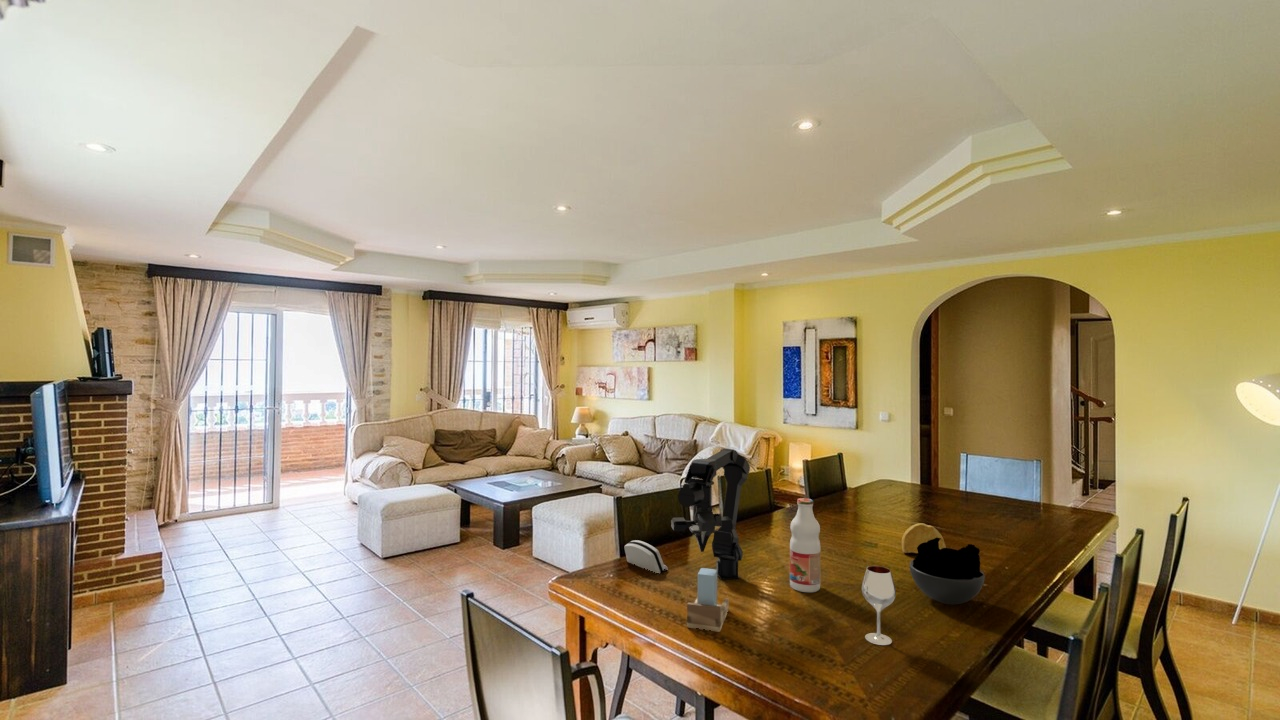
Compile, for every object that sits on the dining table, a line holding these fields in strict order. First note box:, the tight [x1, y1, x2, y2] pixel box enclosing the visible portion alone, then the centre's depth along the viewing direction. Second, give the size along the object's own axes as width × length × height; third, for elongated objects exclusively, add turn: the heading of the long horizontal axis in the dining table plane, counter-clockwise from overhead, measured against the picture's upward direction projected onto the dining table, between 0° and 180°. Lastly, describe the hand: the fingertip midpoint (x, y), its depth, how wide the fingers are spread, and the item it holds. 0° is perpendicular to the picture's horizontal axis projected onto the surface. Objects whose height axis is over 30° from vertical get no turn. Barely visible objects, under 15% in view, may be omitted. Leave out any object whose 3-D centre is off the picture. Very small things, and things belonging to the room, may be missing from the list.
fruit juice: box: [789, 497, 821, 593], centre depth 184 cm, size 9×9×28 cm
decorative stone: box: [901, 522, 947, 555], centre depth 219 cm, size 13×15×15 cm
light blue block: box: [696, 567, 718, 606], centre depth 159 cm, size 5×4×12 cm
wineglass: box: [861, 565, 897, 646], centre depth 149 cm, size 8×8×18 cm
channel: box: [686, 597, 730, 633], centre depth 161 cm, size 15×9×6 cm, turn 162°
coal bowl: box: [909, 538, 986, 605], centre depth 173 cm, size 20×20×19 cm
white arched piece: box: [623, 539, 669, 574], centre depth 202 cm, size 17×5×10 cm, turn 41°
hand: (702, 551), depth 179 cm, fingers closed
